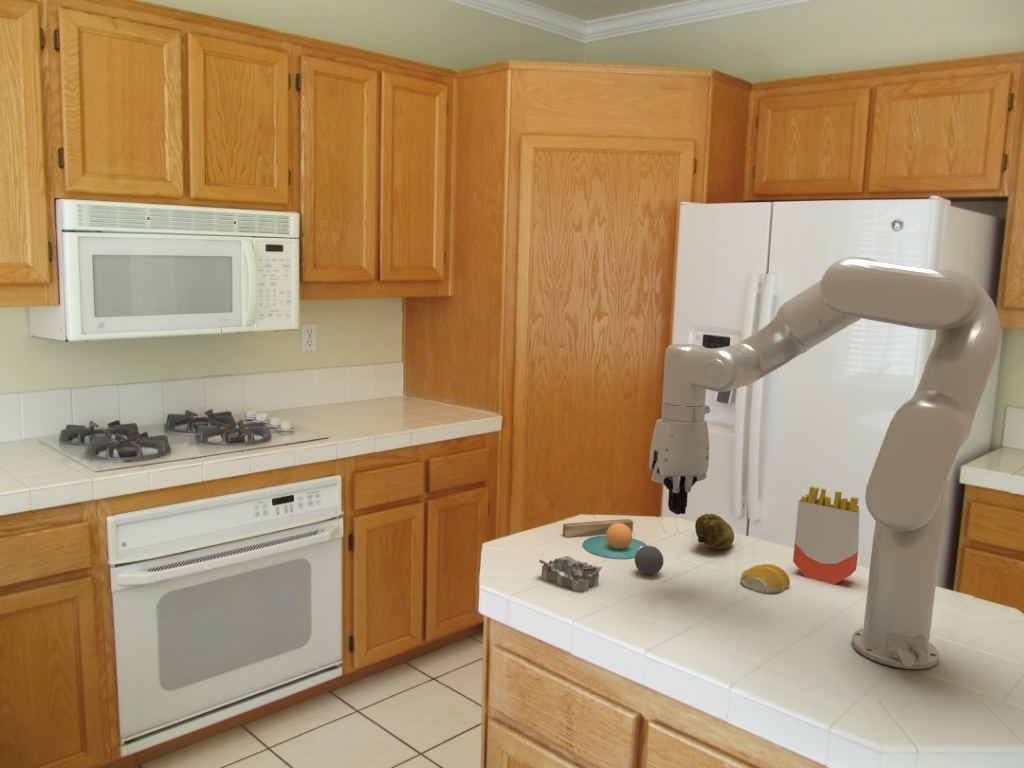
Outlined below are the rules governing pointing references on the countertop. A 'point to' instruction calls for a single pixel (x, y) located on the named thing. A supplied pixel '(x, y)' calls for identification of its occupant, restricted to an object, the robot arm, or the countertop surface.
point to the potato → (714, 531)
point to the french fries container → (826, 536)
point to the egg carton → (571, 573)
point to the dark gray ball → (649, 560)
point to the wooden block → (592, 527)
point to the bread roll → (765, 578)
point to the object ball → (619, 536)
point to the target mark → (603, 549)
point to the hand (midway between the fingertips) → (677, 511)
